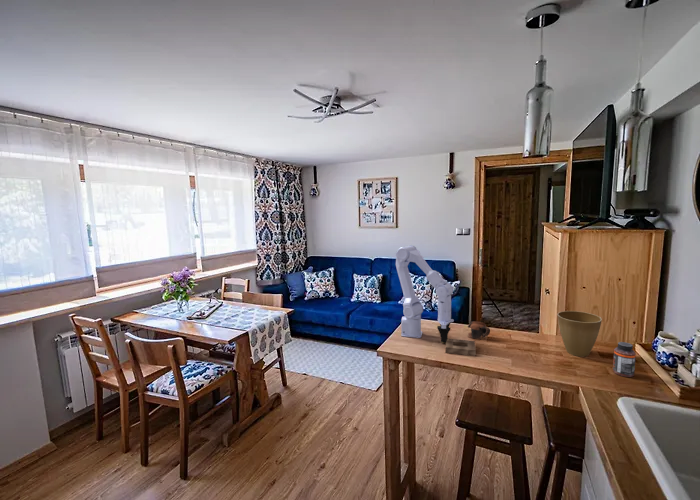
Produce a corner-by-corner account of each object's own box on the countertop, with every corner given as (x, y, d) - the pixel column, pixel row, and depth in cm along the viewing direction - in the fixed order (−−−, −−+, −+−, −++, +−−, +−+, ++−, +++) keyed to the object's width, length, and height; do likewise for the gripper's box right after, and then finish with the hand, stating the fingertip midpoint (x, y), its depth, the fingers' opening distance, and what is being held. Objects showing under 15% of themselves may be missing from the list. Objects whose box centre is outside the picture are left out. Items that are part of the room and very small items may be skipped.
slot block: (445, 352, 138) (445, 347, 137) (446, 343, 147) (446, 338, 147) (475, 356, 134) (475, 350, 133) (474, 346, 143) (474, 341, 143)
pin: (440, 343, 147) (440, 328, 147) (441, 340, 150) (441, 326, 149) (447, 344, 146) (447, 329, 146) (447, 341, 149) (447, 327, 148)
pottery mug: (462, 337, 155) (464, 320, 158) (474, 341, 160) (476, 325, 162) (483, 338, 145) (485, 320, 148) (496, 343, 150) (498, 325, 152)
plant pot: (570, 343, 143) (572, 308, 142) (607, 356, 130) (610, 318, 128) (547, 349, 138) (549, 313, 136) (584, 364, 124) (586, 324, 122)
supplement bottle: (612, 368, 121) (614, 339, 119) (633, 372, 117) (636, 343, 116) (612, 374, 116) (614, 344, 115) (634, 379, 112) (636, 348, 111)
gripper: (453, 315, 138) (453, 345, 140) (454, 306, 152) (453, 333, 153) (436, 314, 141) (436, 343, 142) (438, 305, 154) (438, 332, 156)
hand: (444, 338), depth 148 cm, fingers open, 7 cm apart
